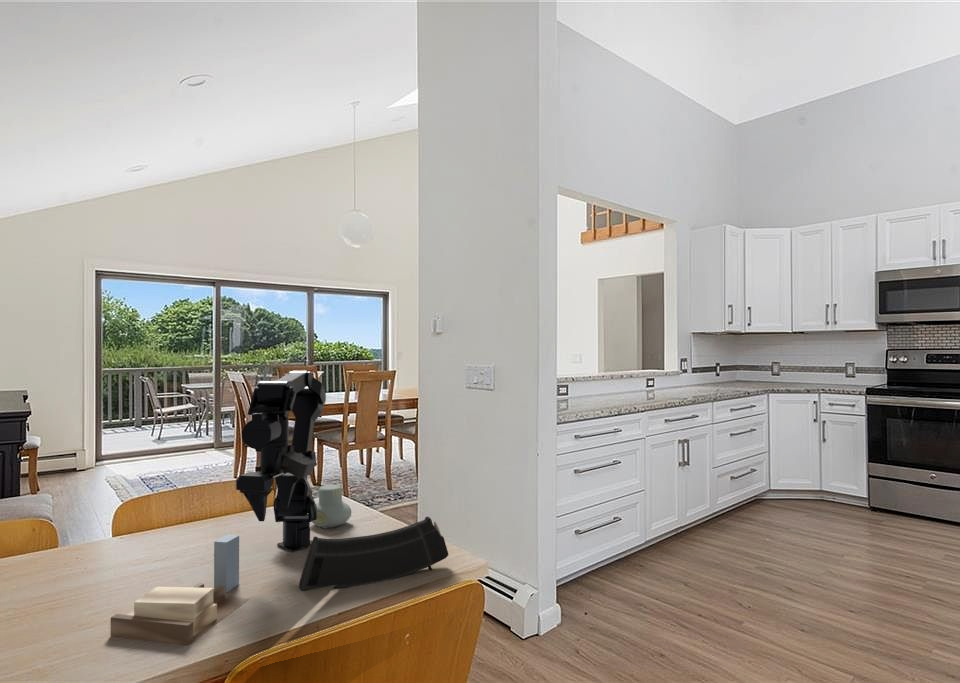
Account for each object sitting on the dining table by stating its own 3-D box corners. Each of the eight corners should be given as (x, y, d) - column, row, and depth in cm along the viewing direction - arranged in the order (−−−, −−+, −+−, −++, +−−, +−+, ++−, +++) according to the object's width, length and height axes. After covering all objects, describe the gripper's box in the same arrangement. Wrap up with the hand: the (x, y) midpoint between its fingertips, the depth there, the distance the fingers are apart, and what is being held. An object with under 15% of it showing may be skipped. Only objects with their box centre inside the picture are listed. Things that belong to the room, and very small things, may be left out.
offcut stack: (156, 611, 100) (157, 582, 100) (218, 617, 98) (218, 588, 98) (123, 632, 93) (123, 601, 93) (188, 639, 91) (189, 607, 91)
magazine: (288, 552, 108) (430, 488, 121) (285, 546, 110) (424, 484, 124) (315, 633, 110) (451, 562, 123) (311, 626, 113) (445, 557, 126)
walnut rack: (182, 597, 108) (182, 576, 108) (249, 604, 105) (249, 582, 105) (110, 642, 92) (110, 617, 92) (187, 651, 89) (188, 625, 89)
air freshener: (356, 523, 153) (356, 486, 153) (333, 532, 146) (333, 493, 146) (327, 517, 159) (327, 481, 159) (303, 525, 152) (304, 487, 152)
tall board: (226, 588, 112) (227, 534, 112) (239, 589, 112) (239, 535, 112) (214, 597, 108) (214, 541, 109) (226, 598, 108) (226, 542, 108)
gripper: (286, 449, 110) (286, 531, 110) (329, 434, 128) (329, 504, 128) (234, 447, 112) (233, 527, 112) (284, 433, 131) (283, 501, 130)
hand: (273, 514), depth 121 cm, fingers open, 9 cm apart
